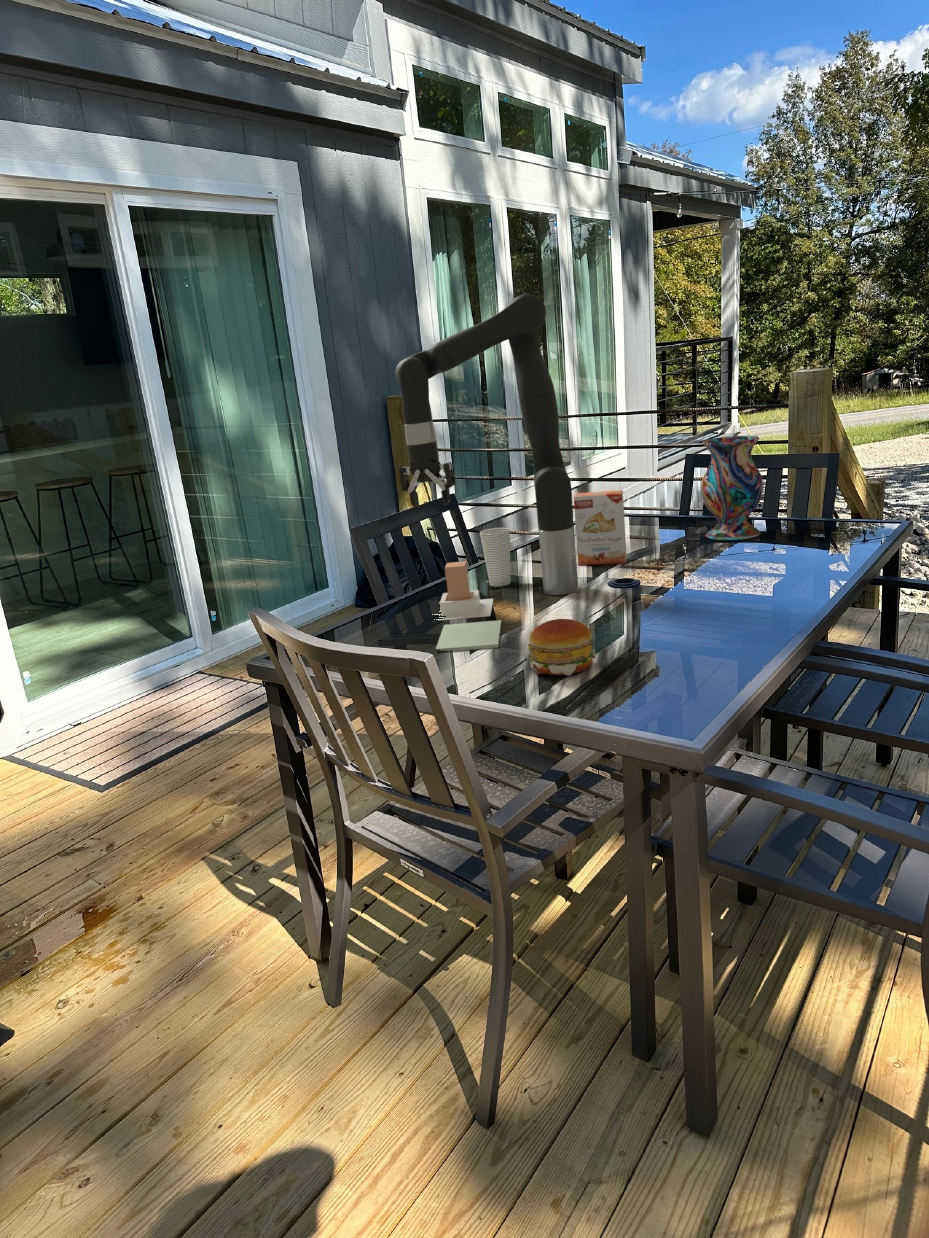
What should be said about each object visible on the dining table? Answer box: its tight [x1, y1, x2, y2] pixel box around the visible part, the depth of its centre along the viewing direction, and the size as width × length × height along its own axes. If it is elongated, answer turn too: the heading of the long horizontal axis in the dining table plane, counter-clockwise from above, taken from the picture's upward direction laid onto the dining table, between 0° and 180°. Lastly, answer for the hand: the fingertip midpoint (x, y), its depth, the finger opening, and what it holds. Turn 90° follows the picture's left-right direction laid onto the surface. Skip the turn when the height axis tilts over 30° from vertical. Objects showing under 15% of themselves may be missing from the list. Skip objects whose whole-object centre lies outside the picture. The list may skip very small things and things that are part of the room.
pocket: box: [432, 589, 494, 621], centre depth 221 cm, size 16×16×4 cm
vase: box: [700, 435, 764, 541], centre depth 266 cm, size 18×18×30 cm
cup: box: [479, 526, 511, 588], centre depth 242 cm, size 8×8×16 cm
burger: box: [527, 618, 597, 676], centre depth 173 cm, size 13×14×10 cm
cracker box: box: [573, 489, 627, 566], centre depth 252 cm, size 14×6×21 cm, turn 76°
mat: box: [435, 619, 502, 651], centre depth 200 cm, size 14×18×1 cm
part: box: [444, 560, 471, 601], centre depth 220 cm, size 5×5×12 cm
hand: (431, 505), depth 217 cm, fingers open, 8 cm apart
